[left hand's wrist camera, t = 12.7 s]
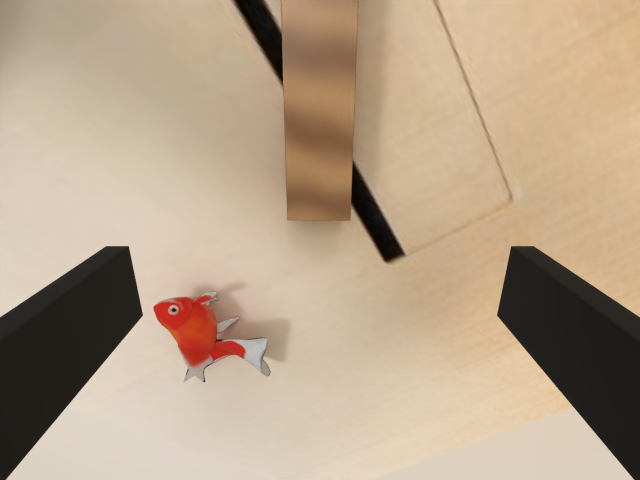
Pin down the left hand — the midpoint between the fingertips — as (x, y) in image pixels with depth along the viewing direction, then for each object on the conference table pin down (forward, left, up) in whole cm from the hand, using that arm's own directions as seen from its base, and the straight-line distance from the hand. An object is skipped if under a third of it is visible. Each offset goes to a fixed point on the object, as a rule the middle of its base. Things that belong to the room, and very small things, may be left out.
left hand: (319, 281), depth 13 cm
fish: (-9, -20, -27) cm, 35 cm away
